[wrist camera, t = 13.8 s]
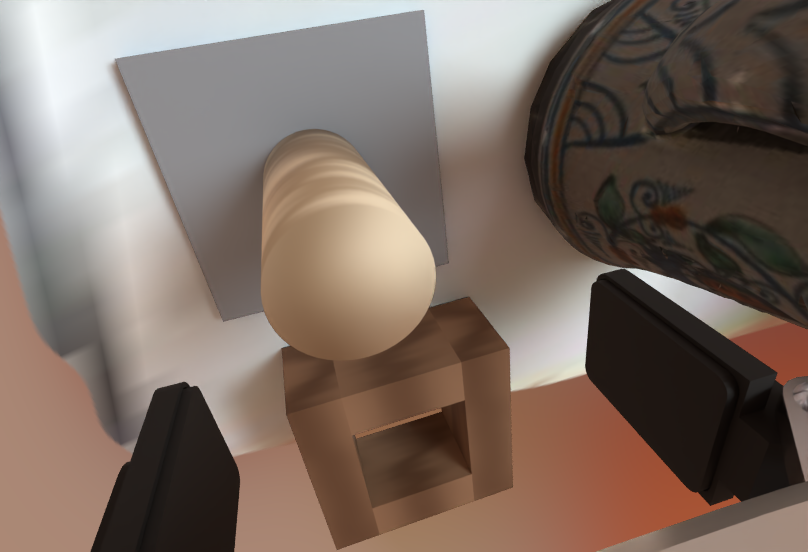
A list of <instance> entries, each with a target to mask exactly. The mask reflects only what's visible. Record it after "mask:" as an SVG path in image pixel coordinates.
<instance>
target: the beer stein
mask: <svg viewBox="0 0 808 552" xmlns="http://www.w3.org/2000/svg"><path fill="white" fill-rule="evenodd" d="M524 159H525V163H526V167H527V171H528V175H529V179H530V184H531V188H532V192H533V196H534V200H535V201H536V203H537V204H538V205H539V206H540V208H541V209H542V210H543V211H544V213H545V214H546V215H547V217H548V218H549V219H550V220H551V222H552V224H553V225H554V226H555V228H556V229H557V230H558V231H559V233H560V234H561V235H562V236H563V237H564V239H565V240H566V241H567V242H569V243H570V244H571V245H572V246H573V247H574V248H575V249H577V250H578V251H579V252H581V253H583V254H585V255H586V256H588V257H590V258H592V259H594V260H596V261H599V262H602V263H605V264H608V265H612V266H617V267H622V268H637V269H641V270H646V271H650V272H654V273H657V274H660V275H663V276H666V277H670V278H674V279H676V280H679V281H682V282H684V283H686V284H689V285H692V286H695V287H698V288H702V289H704V290H707V291H709V292H712V293H714V294H717V295H719V296H722V297H724V298H728V299H732V300H735V301H736V302H738V303H740V304H742V305H745V306H748V307H751V308H753V309H756V310H758V311H761V312H765V313H768V314H770V315H773V316H775V317H778V318H780V319H783V320H785V321H787V322H790V323H793V324H795V325H797V326H800V327H803V328H805V329H808V0H612V1H610V2H608V3H606V4H604V5H602V6H600V7H598V8H596V9H594V10H593V11H592V12H591V13H590V15H589V16H588V17H587V18H586V19H585V21H584V22H583V23H582V24H581V26H580V27H579V28H578V29H577V30H576V32H575V33H574V34H573V35H572V36H571V38H570V39H569V40H568V41H567V43H566V44H565V45H564V46H563V47H562V49H561V50H560V51H559V52H558V53H557V55H556V56H555V57H554V58H553V60H552V61H551V62H550V64H549V66H548V69H547V71H546V73H545V76H544V78H543V80H542V83H541V85H540V87H539V90H538V92H537V94H536V97H535V99H534V101H533V104H532V106H531V110H530V117H529V125H528V133H527V141H526V149H525V157H524Z"/></svg>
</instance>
